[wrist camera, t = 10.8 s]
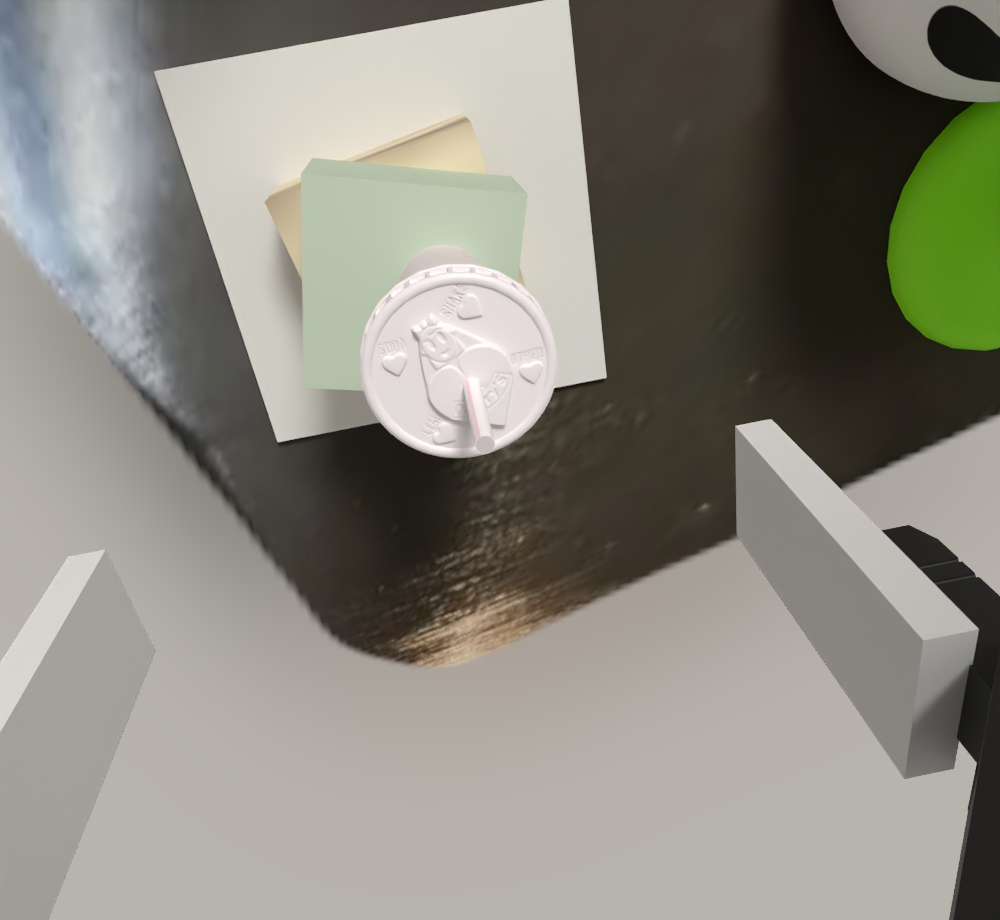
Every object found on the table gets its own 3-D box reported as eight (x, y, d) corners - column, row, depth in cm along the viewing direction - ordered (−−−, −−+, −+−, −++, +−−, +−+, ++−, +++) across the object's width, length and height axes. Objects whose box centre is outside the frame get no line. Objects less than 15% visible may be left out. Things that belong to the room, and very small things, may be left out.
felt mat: (155, 71, 37) (153, 71, 37) (566, -4, 38) (568, -4, 38) (278, 439, 47) (277, 442, 47) (605, 375, 47) (606, 377, 47)
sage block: (312, 157, 35) (300, 173, 31) (511, 176, 36) (527, 193, 32) (313, 349, 39) (303, 387, 35) (492, 359, 40) (504, 397, 36)
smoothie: (430, 386, 35) (450, 568, 23) (335, 274, 32) (299, 413, 20) (547, 302, 34) (633, 445, 22) (458, 177, 31) (499, 262, 19)
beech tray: (278, 184, 40) (264, 202, 36) (462, 113, 39) (470, 121, 35) (359, 357, 45) (355, 391, 40) (523, 295, 44) (538, 323, 40)
